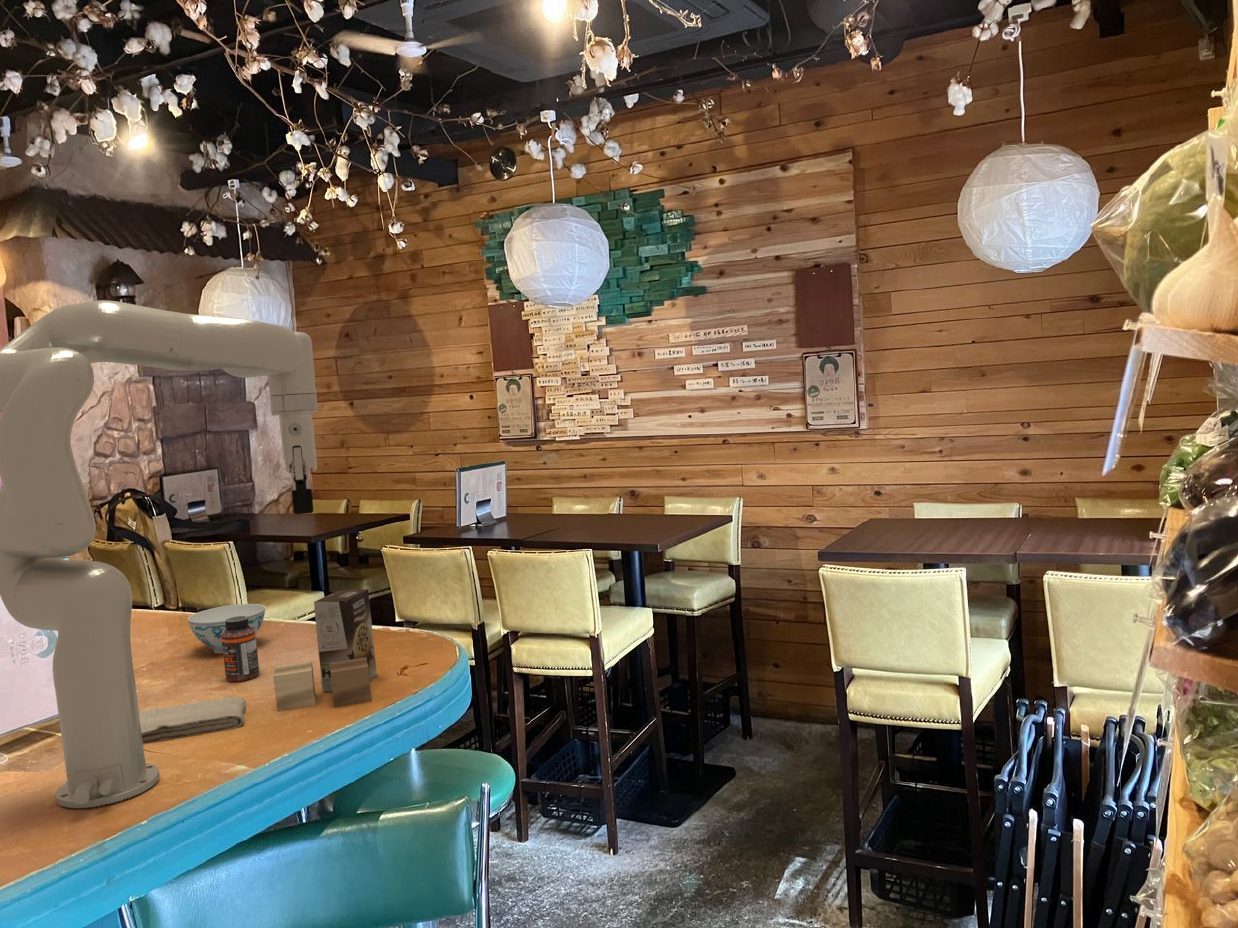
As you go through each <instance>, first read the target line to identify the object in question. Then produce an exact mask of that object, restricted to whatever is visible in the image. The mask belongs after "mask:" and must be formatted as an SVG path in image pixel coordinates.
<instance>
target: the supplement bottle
mask: <svg viewBox="0 0 1238 928" xmlns="http://www.w3.org/2000/svg"><path fill="white" fill-rule="evenodd" d="M248 624H249V622H248V617H247V616H237V617H232V618H228V619H226V620H225V627H226V629H225V631H224V632H223V633H222V635H221V639H222V648H223V653H222V655H223V665H224V675H225V679H226V680H227V681H228V682H231V683H232V682H233V683H239V682H245V681H249V680H252V679H255V678H256V677H258V676H259V674H260V664H259V655H258V647H257V646H258V645H257V637H256V635H255V630H254V629H253V628H252V627H250V626H249V625H248Z"/></svg>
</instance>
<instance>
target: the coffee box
mask: <svg viewBox="0 0 1238 928" xmlns="http://www.w3.org/2000/svg"><path fill="white" fill-rule="evenodd" d="M369 595H370V594H369V589H368V588H367V589H363V588H362V589H360V588H359V589H347V590H336V591H334V592H332V593H330V594H328V595H326V596H324V597H321V598H319V599H318V600H317V599H316V601H313V607H314V609H313V610H314V618H315V620H314V621H315V630H316V638H317V650H318V658H319V668H320V669H319V670H320V677H321V678H320V679H321V689H322V692H333V691H332V682H331V673H330V663H333V662H339V661H346V660H352V659H359V658H367V664H368V672H369V682H370V681H371V680H373V679H374V678H375V677H376V676H377V674H378V673H377V672H378V671H377V662H376V653H375V645H374V642H375V641H374V634H373V623H372V615H371V603H370V596H369Z"/></svg>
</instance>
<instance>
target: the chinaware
mask: <svg viewBox="0 0 1238 928" xmlns="http://www.w3.org/2000/svg"><path fill="white" fill-rule="evenodd" d="M265 613H266V606H265V605H263V604H257V603H242V604H241V603H238V604H230V605H224V606H218V607H213V608H209V609H205V610H201V611H197V612H196V613H193V614H191V615H190V616H188V618H187V622H188V626H189V628H190V630H191V631H192V633H193V634H194V636H195V637H196V639H198V641H199V642H201V643H202V644H204V645H205V646H207V647H209V648H211V649H212V650H213V653H215V654H223V648H222V639H221V635H222V633H223V632H224V631H225V629H226V627H225V620H226V619H228V618H232V617H237V616H247V617H248V622H249V624H248V625H249V626H250V627H252V628H253V629H254V630H255V636H256V635H258V634H259V633H258V632H259V631H260V630H261V628H262V626H263V623H264V619H265Z"/></svg>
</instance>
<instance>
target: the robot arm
mask: <svg viewBox="0 0 1238 928" xmlns="http://www.w3.org/2000/svg"><path fill="white" fill-rule="evenodd" d="M313 351H314V350H313V341H312V338H311V336H310V335H309V334H307V333H306V332H303V331H293V330H292V329H290V328H288V327H286V326H283V325H278V324H274V323H269V322H264V321H258V320H250V319H243V318H242V319H240V318H233V317H232V318H231V317H220V316H211V315H204V314H194V313H193V314H191V313H185V312H184V313H183V312H179V311H177V312H176V311H171V310H166V309H165V310H164V309H159V308H153V307H149V306H142V305H138V304H133V303H127V302H121V301H116V300H108V299H106V300H105V299H103V300H102V299H99V300H91V301H85V302H81V303H79V302H78V303H74V304H73V303H72V304H67V305H62V306H59V307H56V308H55V309H53V310H51V311H49V312H48V313H46V314H45V315H44V316H42V317H41V318H39V319H38V320H37V321H35V322H34V323H33V324H31V325H30V326H28V327H27V328H26V329H25V330H23V331H22V332H21V333H19V334H18V335H16V336H15V337H14V338H13V339H12V340H10V341H9V342H8V343H6V344H4V346H2V347H1V348H0V478H1V481H2V485H3V489H0V598H1V601H2V603H3V605H4V607H5V608H6V610H7V612H8V614H9V615H10V616H11V618H13V619H14V620H15V621H16V622H17V623H19V625H22V626H24V627H27V628H31V629H36V630H43V631H44V630H46V631H56V632H57V640H56V643H55V647H54V648H55V649H54V652H53V657H52V679H53V686H54V689H55V690H54V691H55V698H56V705H57V707H56V708H57V712H58V714H57V715H58V720H59V728H60V736H61V744H62V750H63V758H64V765H65V773H66V779H67V781H66V782H64V783H63V784H62V785H61V786H60V787H58V789H57V790H56V792H55V798H56V803H57V804H58V805H59V806H61V807H65V808H68V809H69V808H70V809H88V808H89V807H90V808H96V806H97V807H102V806H101V805H103V806H106V805H105V804H108V805H110V803H111V804H115V803H118V801H119V802H121V801H124V799H125V800H127V798H128V799H130V798H133V797H136V796H137V795H139V794H143V793H144V792H145V791H147V790H149V789H151V788H152V787H153V786H155V785H156V784H157V782H158V781H159V779H160V776H161V775H160V769H159V767H158V766H157V765H155V764H153V763H149V762H146V757H145V749H144V743H143V739H142V731H141V723H140V716H139V709H140V708H139V701H138V694H137V693H138V692H137V687H136V685H137V684H136V679H135V678H136V677H135V670H134V664H133V663H134V661H133V654H132V642H131V624H132V623H131V621H132V609H133V592H132V587H131V584H130V582H129V580H128V578H127V577H126V575H125V574H124V573H123V572H122V571H121V570H119V569H118V568H116V567H115V566H114V565H111V564H108V563H105V562H103V561H102V562H101V561H95V560H79V559H78V560H74V559H72V560H71V559H69V560H67V559H66V560H64V557H72V556H75V555H76V554H79V553H81V552H83V551H85V550H86V549H87V548H88V547H89V546H90V545H92V543H93V542H94V539H95V536H96V529H97V527H96V521H95V519H96V518H95V515H94V512H93V508H92V506H91V503H90V501H89V498H88V495H87V493H86V492H87V491H86V489H85V487H84V483H83V481H82V479H81V475H80V472H79V470H78V468H77V467H78V466H77V463H76V461H75V457H74V453H73V449H72V445H71V443H72V442H71V437H72V436H71V435H72V431H73V425H74V423H75V420H76V419H77V416H78V414H79V412H80V411H81V410H82V408H83V407H84V404H86V402H87V401H88V399H89V398H90V396H91V394H92V392H93V388H94V384H95V374H94V368H93V366H92V364H94V363H96V364H97V363H115V364H123V365H131V366H141V367H149V368H157V369H165V370H171V371H206V370H215V369H222V370H223V371H225V373H227V374H228V375H231V376H233V377H237V378H258V377H266V376H267V378H268V379H267V380H268V388H269V401H270V412H271V417H272V416H278V417H279V430H280V439H281V447H282V448H281V449H282V454H283V459H284V465H285V469H286V472H287V473H288V474H290V476H291V484H292V490H291V497H292V509H293V514H294V515H305V514H313V513H314V501H313V500H314V499H313V492H312V491H313V489H312V488H311V483H310V482H311V480H310V469H312V472H314V473H315V472H316V470H318V461H317V460H318V459H317V451H316V450H317V449H316V448H317V447H316V438H315V429H314V421H313V415H312V414H313V413H314V414H316V413H319V409H318V398H317V387H316V379H315V377H316V374H315V365H314V362H315V361H314V352H313ZM132 796H133V797H132ZM90 808H89V809H90Z"/></svg>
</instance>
